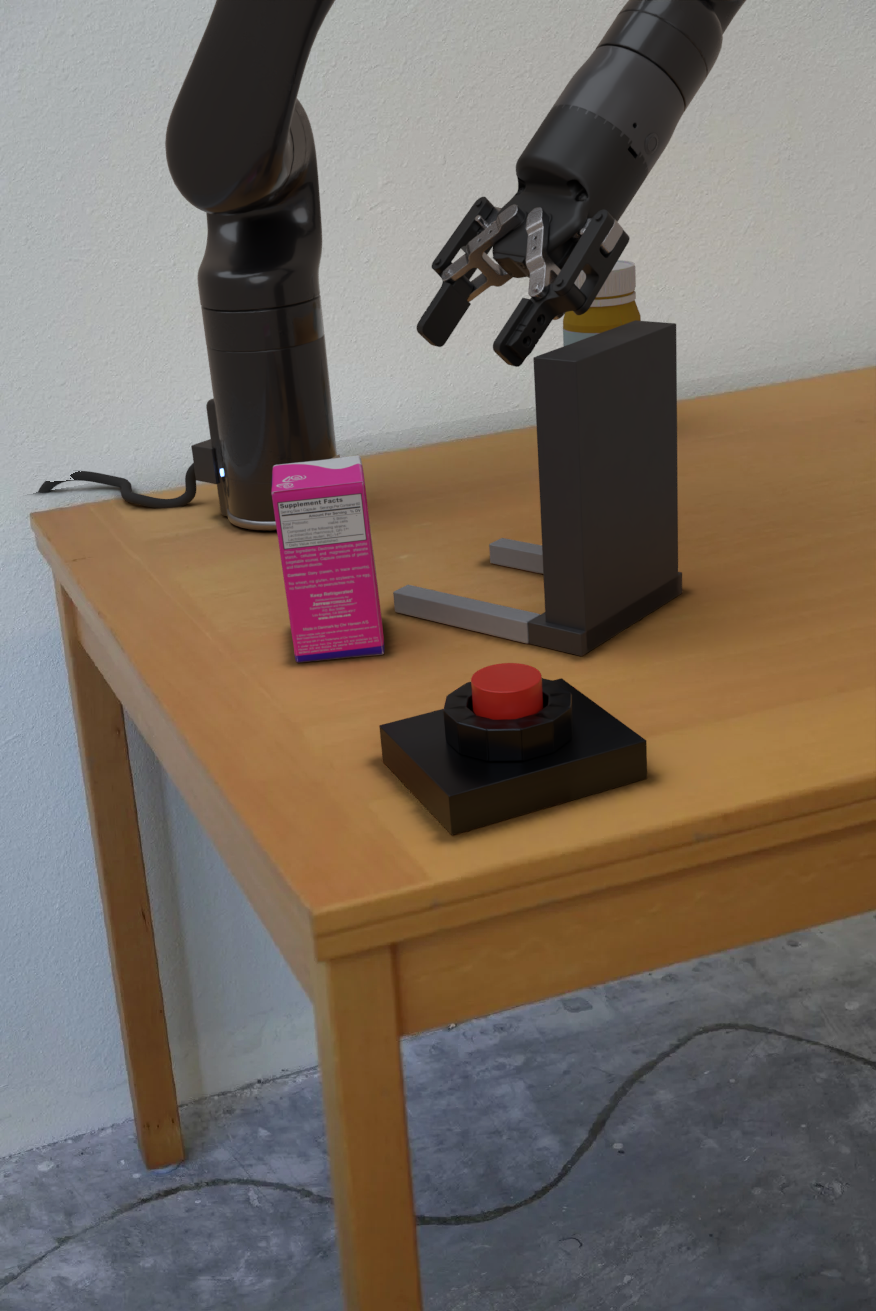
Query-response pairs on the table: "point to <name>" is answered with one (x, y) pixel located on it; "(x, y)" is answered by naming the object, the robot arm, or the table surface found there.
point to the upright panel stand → (591, 497)
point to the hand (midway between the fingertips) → (464, 348)
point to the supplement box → (327, 559)
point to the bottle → (605, 305)
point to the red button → (507, 691)
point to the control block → (511, 757)
